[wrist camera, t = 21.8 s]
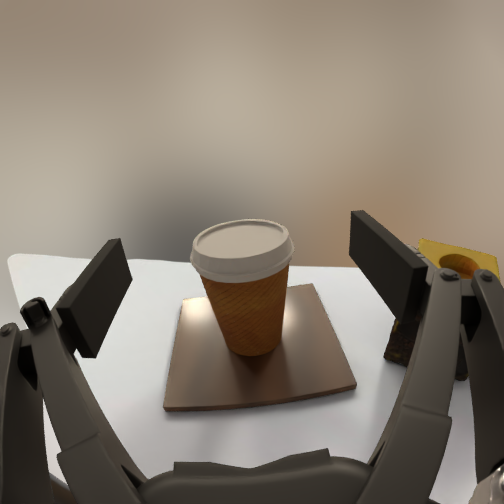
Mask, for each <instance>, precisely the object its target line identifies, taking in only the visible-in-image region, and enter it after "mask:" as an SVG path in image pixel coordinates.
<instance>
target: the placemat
mask: <svg viewBox="0 0 504 504" xmlns="http://www.w3.org/2000/svg"><path fill="white" fill-rule="evenodd" d="M356 385H357V383H356V381H355V378H354V376H353V373H352V371H351V369H350V366H349V364H348V362H347V359H346V357H345V355H344V352H343V350H342V348H341V345H340V343H339V341H338V339H337V336H336V334H335V332H334V330H333V327H332V325H331V323H330V321H329V318H328V316H327V314H326V312H325V310H324V307H323V305H322V303H321V301H320V299H319V296H318V294H317V292H316V290H315V288H314V286H313V284H305V285H298V286H291V287H287V291H286V301H285V310H284V319H283V328H282V337H281V340H280V342H279V344H278V345H277V346H276V347H275V348H274V349H273V350H271V351H269V352H268V353H265V354H262V355H257V356H244V355H240V354H237V353H235V352H233V351H231V350H230V349H229V348H228V347H227V345H226V343H225V340H224V337H223V335H222V332H221V330H220V327H219V324H218V322H217V319H216V317H215V314H214V312H213V309H212V306H211V304H210V301H209V299H208V297H200V298H190V299H183V303H182V308H181V312H180V317H179V322H178V327H177V332H176V337H175V342H174V347H173V352H172V358H171V363H170V369H169V374H168V380H167V386H166V392H165V398H164V404H163V408H164V410H165V411H208V410H224V409H237V408H248V407H257V406H265V405H273V404H280V403H287V402H293V401H299V400H305V399H310V398H316V397H321V396H326V395H330V394H335V393H339V392H344V391H348V390H352V389H356Z"/></svg>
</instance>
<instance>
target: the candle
mask: <svg viewBox="0 0 504 504" xmlns="http://www.w3.org/2000/svg"><path fill="white" fill-rule="evenodd" d="M417 250H418V251H419V252H421V254H423V255H424V256H425V258H427V259H429V260H430V261H431V262H432V263H433V264H434V265H435V266H436V267H437V268H448V269H451V270H454V271H455V272H457V273H458V274H459V275H460V276H461V279H472V277H473V274H474V271H475V270H477V269H487V270H488V271H489V270H490V271H491V272H492V273H494V274H495V275H496V276H497V277H498V279H499V281H500V277H499V269H498V264H497V258H496V257H495V256H492V255H489V254H486V253H481V252H478V251H473V250H470V249H466V248H462V247H456V246H452V245H446V244H443V243H438V242H434V241H430V240H426V239H423V238H422V239H420V240H419V248H418V249H417ZM421 318H422V314H421V313H420V311H419V310H418V311H417V315H416V318H415V321H413V322H409V323H405V324H401V325H400V323H399V322H398V320H397V319H395V321H394V325H393V326H392V331H391V333H390V339H389V342H388V344H387V347H386V350H385V353H384V358H385V359H386V360H391V361H393V362H395V363H401V364H403V365H404V366H407V367H408V365H409V362H410V358H411V355H412V352H413V348H414V345H415V341H416V337H417V335H416V334H417V331H418V328H419V325H420V322H421ZM468 376H469V374H468V368H467V362H466V357H465V352H464V347H463V342H462V337H461V333H460V337H459V348H458V357H457V365H456V372H455V379H456V380H459V381H461V380H463V381H465V380H466V379H467V378H468Z"/></svg>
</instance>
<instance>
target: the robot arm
mask: <svg viewBox="0 0 504 504" xmlns="http://www.w3.org/2000/svg"><path fill="white" fill-rule="evenodd" d="M349 255H350V257H351V258H352V259H353V261H354V262H355V263H356V264H357V265H358V267H359V268H360V270H361V271H362V272H363V274H364V275H365V276H366V278H367V279H368V280H369V282H370V283H371V284H372V286H373V287H374V288H375V290H376V291H377V292H378V294H379V295H380V296H381V298H382V299H383V301H384V302H385V303H386V305H387V306H388V307H389V309H390V310H391V312H392V313H393V315H394V316H395V317H396V319H397V320H398V322H399V323H400V325H401V324H405V323H409V322H413V321H415V318H416V315H417V311H418V310H419V311H420V313H421V314H422V318H421V322H420V325H419V328H418V331H417V334H416V335H417V337H416V341H415V345H414V348H413V352H412V355H411V358H410V362H409V365H408V368H407V371H406V374H405V377H404V380H403V383H402V386H401V389H400V391H399V394H398V397H397V399H396V402H395V405H394V407H393V410H392V412H391V415H390V417H389V420H388V422H387V424H386V427H385V429H384V431H383V433H382V436H381V438H380V440H379V442H378V444H377V446H376V448H375V450H374V452H373V454H372V456H371V457H370V459H369V461H368V463H367V464H366V463H363V462H361V461H358V460H355V459H350V458H345V457H336V456H330V454H329V450H328V448H326V449H322V450H317V451H312V452H306V453H301V454H295V455H290V456H287V457H284V458H282V459H279V460H276V461H273V462H270V463H267V464H265V465H262V466H258V467H255V468H241V467H235V466H229V465H223V464H217V463H212V462H174V470H173V471H169V472H165V473H162V474H159V475H157V476H155V477H153V478H151V479H149V480H148V479H147V478H146V477H145V476H144V475H143V473H142V472H141V471H140V470H139V469H138V467H137V466H136V464H135V463H134V462H133V460H132V459H131V457H130V456H129V454H128V453H127V451H126V450H125V448H124V447H123V445H122V444H121V442H120V440H119V439H118V437H117V436H116V434H115V432H114V431H113V429H112V427H111V426H110V424H109V422H108V421H107V419H106V417H105V415H104V414H103V412H102V410H101V408H100V406H99V404H98V403H97V401H96V399H95V397H94V395H93V393H92V391H91V389H90V387H89V385H88V383H87V381H86V379H85V377H84V374H83V372H82V370H81V368H80V366H79V363H78V361H77V359H76V358H75V356H74V352H75V350H76V348H77V350H78V351H79V353H80V355H81V357H82V358H96V357H97V354H98V352H99V350H100V347H101V345H102V343H103V341H104V338H105V336H106V334H107V332H108V329H109V327H110V325H111V323H112V321H113V319H114V316H115V314H116V312H117V310H118V308H119V306H120V304H121V302H122V300H123V298H124V296H125V294H126V292H127V290H128V288H129V286H130V284H131V282H132V280H133V279H132V276H131V273H130V270H129V267H128V263H127V260H126V257H125V253H124V250H123V246H122V243H121V239H120V238H118V239H111V240H108V242H107V243H106V244H105V245H104V246H103V247H102V249H101V250H100V251H99V252H98V253H97V255H96V256H95V257H94V258H93V259H92V261H91V262H90V263H89V264H88V266H87V267H86V268H85V269H84V271H83V272H82V273H81V274H80V276H79V277H78V278H77V280H76V281H75V282H74V283H73V284H72V285H71V286H69V287H68V288H67V289H66V290H65V292H64V293H63V294H62V295H63V296H61V297H60V299H59V301H57V303H56V304H55V305H54V307H53V308H52V310H51V311H50V310H49V308H48V306H47V304H46V302H45V300H44V298H42V297H37V298H34V299H31V300H30V301H28V302H26V303H25V304H24V305H23V306H22V308H21V310H20V313H21V315H22V317H23V319H24V321H25V322H26V324H27V326H28V328H29V329H26V330H22V331H20V330H19V328H18V326H17V325H16V323H8V324H6V325H4V326H3V327H1V329H0V504H55V503H54V498H53V493H52V488H51V482H50V476H49V470H48V463H47V455H46V446H45V435H44V420H43V399H44V402H45V405H46V409H47V412H48V415H49V418H50V421H51V424H52V427H53V430H54V432H55V435H56V438H57V440H58V443H59V446H60V448H61V452H60V453H58V454H57V460H58V464H59V466H60V468H61V471H62V473H63V475H64V477H65V479H66V482H67V484H68V486H69V488H70V490H71V492H72V494H73V496H74V498H75V500H76V502H77V504H440V503H438V502H436V501H434V500H431V499H429V496H430V493H431V491H432V488H433V485H434V483H435V480H436V477H437V474H438V471H439V468H440V465H441V462H442V459H443V456H444V452H445V449H446V445H447V442H448V438H449V434H450V430H451V425H452V417H449V416H448V410H449V406H450V401H451V396H452V390H453V385H454V379H455V372H456V365H457V357H458V348H459V337H460V333H461V337H462V342H463V347H464V352H465V357H466V362H467V368H468V374H469V381H470V388H471V396H472V405H473V416H474V431H475V466H476V477H477V484H478V485H477V486H476V488H475V490H474V493H473V496H472V497H471V499H470V500H469V504H504V288H503V287H502V285H501V283H500V281H499V279H498V277H497V276H496V275H495V274H494V273H492V272H491V271H490V270H489V271H488V270H487V269H477V270H475V271H474V274H473V277H472V279H461V276H460V275H459V274H458V273H457V272H455V271H454V270H451V269H448V268H437V267H436V266H435V265H434V264H433V263H432V262H431V261H430V260H429V259H427V258H425V256H424V255H423V254H421V252H419V251H418V250H417V249H416V248H414V247H412V246H410V245H408V244H404V243H402V242H401V241H400V240H399V239H398V238H396V237H395V236H394V235H393V234H392V233H391V232H389V231H388V230H387V229H386V228H384V227H383V226H382V225H381V224H380V223H378V222H377V221H376V220H375V219H374V218H372V217H371V216H370V215H368V214H367V213H366V212H365V211H363V210H362V211H361V210H360V211H351V228H350V247H349Z"/></svg>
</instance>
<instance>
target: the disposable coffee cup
mask: <svg viewBox="0 0 504 504" xmlns="http://www.w3.org/2000/svg"><path fill="white" fill-rule="evenodd" d="M294 247H295V246H294V243H293V241H292V240H291V239H290V237H289V233H288V231H287V229H286V228H285V227H284V226H282V225H281V224H279V223H276V222H273V221H268V220H259V219H247V220H237V221H231V222H225V223H222V224H218V225H215V226H213V227H211V228H208V229H206V230H204V231H203V232H201V233H200V234H199V235H198V236H197V237H196V238H195V239H194V242H193V251H192V253H191V256H190V260H191V263H192V265H193V267H194V268H195V269H196V271H197V272H198V273H199V274H200V277H201V279H202V283H203V285H204V288H205V290H206V293H207V296H208V299H209V301H210V304H211V306H212V309H213V312H214V314H215V317H216V319H217V322H218V324H219V327H220V330H221V332H222V335H223V337H224V340H225V343H226V345H227V347H228V348H229V349H230V350H231V351H233V352H235V353H237V354H240V355H244V356H257V355H262V354H265V353H268V352H269V351H271V350H273V349H274V348H275V347H276V346H277V345H278V344H279V342H280V340H281V337H282V328H283V319H284V310H285V301H286V291H287V281H288V271H289V262H290V260H291V257H292V255H293V253H294Z"/></svg>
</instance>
